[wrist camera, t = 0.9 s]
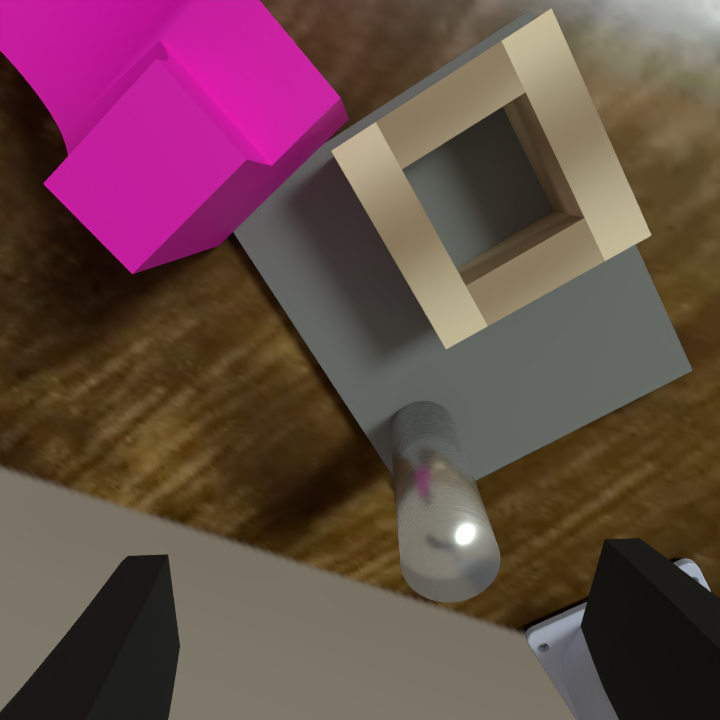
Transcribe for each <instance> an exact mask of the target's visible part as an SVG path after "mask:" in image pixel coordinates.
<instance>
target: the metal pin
mask: <svg viewBox="0 0 720 720" xmlns="http://www.w3.org/2000/svg"><path fill="white" fill-rule="evenodd" d="M390 443H391V455H392V467H393V479H394V490H395V502H396V514H397V525H398V537H399V549H400V561H401V569H402V573H403V576H404V578H405V580H406V581H407V583H408V584H409V586H410V587H411V588H412V589H413V590H414V591H416V592H417V593H418V594H420V595H422V596H423V597H425V598H428V599H430V600H434V601H438V602H459V601H464V600H467V599H470V598H472V597H474V596H476V595H478V594H480V593H481V592H483V591H484V590H485V589H486V588H487V587H488V586H489V585H490V584H491V583H492V582H493V580H494V579H495V577H496V575H497V573H498V570H499V567H500V551H499V548H498V545H497V542H496V539H495V536H494V533H493V531H492V528H491V525H490V522H489V519H488V516H487V513H486V511H485V508H484V505H483V502H482V499H481V496H480V494H479V491H478V488H477V485H476V482H475V479H474V476H473V474H472V471H471V468H470V465H469V462H468V459H467V456H466V454H465V451H464V448H463V445H462V442H461V439H460V437H459V434H458V431H457V428H456V425H455V422H454V419H453V417H452V416H451V414H450V413H449V412H448V411H447V410H446V409H445V408H444V407H443V406H441V405H439V404H437V403H434V402H430V401H417V402H413V403H410V404H408V405H406V406H404V407H403V408H401V409H400V410H399V411H398V412H397V413H396V414H395V416H394V417H393V419H392V422H391V425H390Z"/></svg>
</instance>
